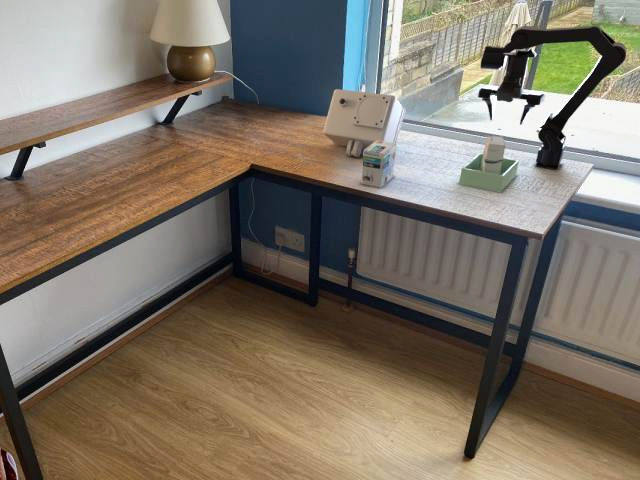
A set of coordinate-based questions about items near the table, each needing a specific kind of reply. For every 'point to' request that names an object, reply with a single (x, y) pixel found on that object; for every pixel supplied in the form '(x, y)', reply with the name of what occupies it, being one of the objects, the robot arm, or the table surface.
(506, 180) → the open green storage box
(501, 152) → the ink box
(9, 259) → the table surface
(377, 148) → the light bulb box
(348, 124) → the junction box
